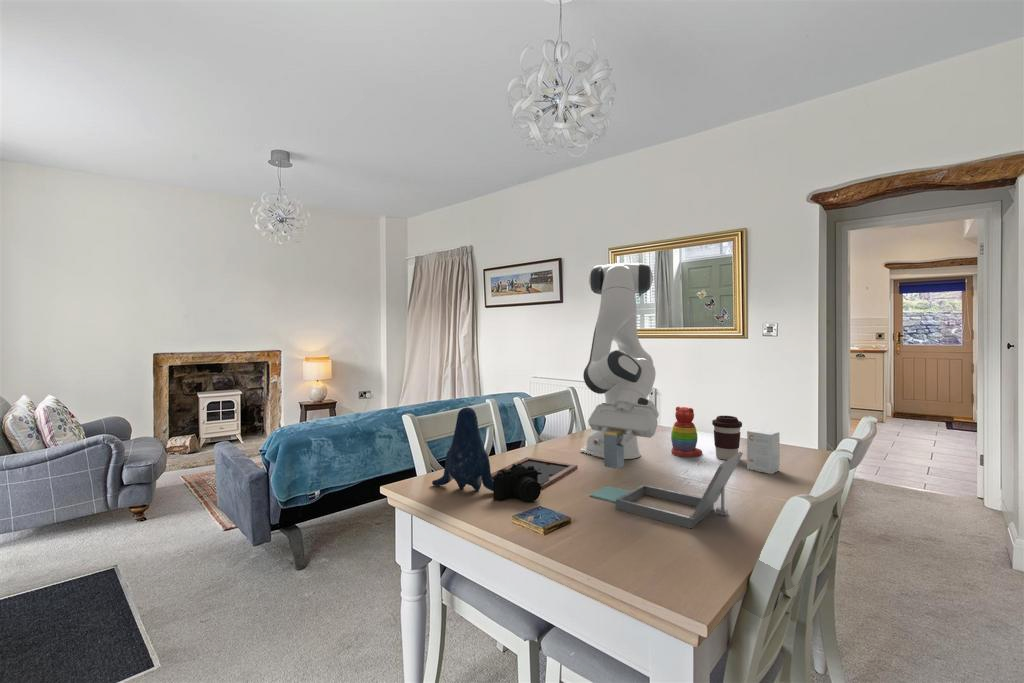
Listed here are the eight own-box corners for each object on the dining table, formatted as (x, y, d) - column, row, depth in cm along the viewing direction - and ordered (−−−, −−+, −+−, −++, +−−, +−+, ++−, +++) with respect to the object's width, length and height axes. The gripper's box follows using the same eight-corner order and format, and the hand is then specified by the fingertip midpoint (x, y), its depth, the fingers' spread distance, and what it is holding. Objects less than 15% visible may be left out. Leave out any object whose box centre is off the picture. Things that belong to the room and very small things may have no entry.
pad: (589, 496, 139) (589, 494, 139) (607, 487, 146) (607, 485, 146) (621, 504, 132) (621, 502, 132) (638, 494, 140) (638, 493, 140)
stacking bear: (704, 453, 183) (704, 406, 183) (693, 459, 176) (693, 410, 175) (676, 449, 191) (676, 403, 190) (665, 454, 183) (665, 407, 183)
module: (604, 466, 138) (603, 431, 138) (611, 463, 141) (610, 429, 141) (616, 468, 136) (616, 433, 136) (623, 465, 139) (623, 430, 139)
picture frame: (542, 491, 144) (577, 470, 166) (542, 484, 144) (577, 464, 166) (487, 480, 155) (526, 461, 176) (487, 474, 155) (526, 456, 176)
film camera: (506, 509, 130) (506, 475, 129) (489, 498, 138) (489, 466, 138) (553, 498, 137) (553, 466, 137) (534, 488, 146) (534, 459, 145)
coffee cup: (746, 461, 172) (747, 419, 172) (718, 461, 172) (718, 419, 172) (734, 454, 182) (734, 414, 182) (707, 454, 182) (708, 414, 182)
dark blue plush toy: (421, 492, 143) (420, 408, 142) (440, 480, 154) (439, 402, 153) (500, 502, 134) (499, 413, 134) (514, 489, 145) (513, 406, 144)
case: (615, 508, 129) (615, 447, 128) (642, 492, 141) (642, 436, 140) (722, 537, 111) (722, 466, 110) (742, 516, 123) (743, 452, 123)
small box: (779, 471, 161) (780, 431, 160) (771, 474, 157) (771, 434, 156) (754, 465, 167) (755, 428, 167) (746, 469, 163) (746, 430, 163)
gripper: (594, 396, 150) (577, 433, 143) (657, 401, 137) (642, 442, 130) (602, 408, 154) (585, 445, 146) (664, 415, 140) (649, 455, 133)
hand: (612, 444), depth 138 cm, fingers closed on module, 4 cm apart
